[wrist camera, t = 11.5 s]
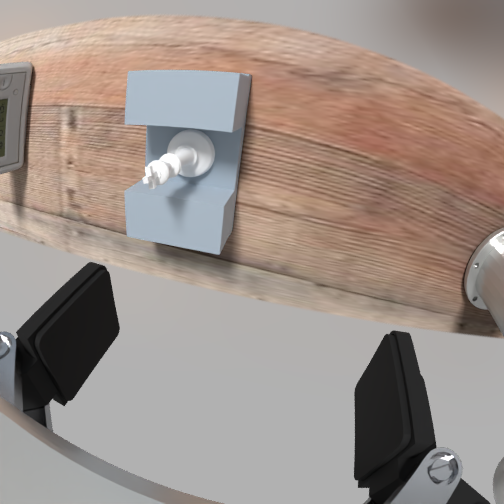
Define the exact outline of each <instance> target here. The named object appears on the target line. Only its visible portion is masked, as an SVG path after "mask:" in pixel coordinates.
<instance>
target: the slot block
mask: <svg viewBox="0 0 504 504" xmlns="http://www.w3.org/2000/svg"><path fill="white" fill-rule="evenodd" d="M251 78H252V75H250V74H243V73H232V72H218V71H199V70H143V71H128V80H127V92H126V108H125V124H130V125H147V131H146V161H145V167H147V166H148V165H149V164H150V163H151V162H152V161H155V160H159V159H160V158H161V157H162V156H163V155H164V154H167V149H168V145H169V143H170V141H171V140H172V138H173V137H174V136H175V135H177V134H178V133H179V132H181V131H184V130H187V129H195V130H199V131H201V132H203V133H204V134H206V135H207V136H208V137H209V138H210V140H211V141H212V143H213V145H214V149H215V158H214V162H213V164H212V166H211V167H210V169H209V170H208V171H207V172H205V173H204V174H202V175H199V176H196V177H185V176H182V175H180V174H178V175H177V176H176V177H173V178H169V179H168V181H167V182H166V183H165V184H163V185H157V187H156V188H155V189H149V186H148V183H146V184H144V183H143V179H142V180H141V181H139V182H138V183H136V184H134V185H133V186H131V187H130V188H128V189H127V190H125V213H126V229H127V237H132V238H137V239H142V240H147V241H152V242H157V243H162V244H167V245H172V246H177V247H182V248H187V249H192V250H197V251H202V252H208V253H213V254H218V255H220V253H221V251H222V249H223V247H224V245H225V243H226V241H227V239H228V237H229V236H230V234H231V232H232V229H233V220H234V211H235V203H236V194H237V186H238V178H239V169H240V161H241V153H242V145H243V138H244V130H245V122H246V115H247V107H248V100H249V93H250V85H251ZM145 176H146V172H145Z"/></svg>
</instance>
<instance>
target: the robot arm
mask: <svg viewBox="0 0 504 504" xmlns="http://www.w3.org/2000/svg"><path fill="white" fill-rule="evenodd" d="M464 288H465V293H466V295H467V297H468V299H469V300H470V302H471V303H472V304H473V305H474V306H475V307H477V308H479V309H485V310H486V309H488V310H489V312H490V314H491V315H492V317H493V319H494V320H495V322H496V324H497V325H498V327H499V329H500V331H501V333H502V334H503V336H504V228H501V229H499V230H497V231H495V232H493V233H492V234H490V235H489V236H488V237H487V238H486V239H485V240H483V242H482V243H481V244H480V245H479V246H478V247H477V249H476V251H475V252H474V254H473V255H472V257H471V259H470V261H469V263H468V266H467V269H466V272H465V278H464ZM119 329H120V327H119V323H118V318H117V312H116V307H115V302H114V297H113V291H112V285H111V280H110V274H109V272H108V271H107V269H106V267H105V266H103V265H99V264H96V263H93V262H89V263H88V264H87V265H86V266H84V267H83V268H82V269H81V270H80V271H79V272H78V273H76V274H75V275H74V276H73V277H72V278H71V279H70V280H69V281H68V282H67V283H66V284H65V285H63V286H62V287H61V288H60V289H59V290H58V291H57V292H56V293H55V294H54V295H53V296H52V297H51V298H50V299H49V300H48V301H46V302H45V303H44V304H43V305H42V306H41V308H39V309H38V310H37V311H36V312H35V313H34V314H33V315H32V316H31V317H30V318H29V320H27V321H26V322H25V323H24V324H23V326H22V327H21V328H20V329H19V330H18V331H17V332H16V333H17V335H18V338H17V339H16V340H15V338H14V336H13V335H12V334H11V333H8V332H0V504H223V503H218V502H215V501H211V500H207V499H203V498H200V497H196V496H193V495H190V494H186V493H183V492H180V491H177V490H174V489H171V488H168V487H165V486H163V485H160V484H157V483H154V482H152V481H149V480H147V479H144V478H142V477H139V476H137V475H134V474H132V473H129V472H127V471H125V470H123V469H121V468H118V467H116V466H114V465H112V464H110V463H108V462H106V461H104V460H102V459H100V458H97V457H96V456H94V455H91V454H90V453H88V452H86V451H84V450H82V449H80V448H79V447H77V446H75V445H73V444H72V443H70V442H68V441H67V440H64V439H63V438H62V437H60V436H58V435H57V434H55V433H53V429H52V422H51V414H50V406H49V402H50V401H51V399H52V398H53V399H54V400H55V401H57V402H58V403H60V404H62V405H63V406H65V405H66V403H67V401H71V400H72V399H73V398H74V397H75V395H76V394H77V392H78V391H79V389H80V388H81V387H82V385H83V384H84V382H85V380H86V379H87V378H88V376H89V375H90V374H91V372H92V371H93V369H94V368H95V366H96V365H97V364H98V362H99V361H100V359H101V358H102V357H103V355H104V354H105V352H106V351H107V350H108V348H109V347H110V345H111V344H112V343H113V341H114V340H115V338H116V337H117V336H118V333H119ZM461 476H462V463H461V460H460V458H459V456H458V455H457V454H456V453H455V452H454V451H453V450H451V449H449V448H444V447H440V448H436V441H435V435H434V429H433V423H432V417H431V411H430V406H429V401H428V396H427V391H426V387H425V382H424V379H423V377H422V376H421V374H420V370H419V366H418V362H417V358H416V354H415V350H414V346H413V343H412V339H411V336H410V334H409V333H406V332H400V331H392V332H391V333H390V334H386V335H385V336H384V338H383V340H382V341H381V343H380V345H379V347H378V349H377V351H376V352H375V354H374V356H373V358H372V359H371V361H370V363H369V365H368V366H367V368H366V370H365V371H364V373H363V375H362V377H361V378H360V380H359V381H358V383H357V385H356V388H355V462H354V478H355V480H358V488H369V498H368V500H367V501H366V502H365V503H364V504H490V503H489V501H487V500H486V499H485V498H484V497H482V496H481V495H480V494H479V493H478V492H477V491H476V490H474V489H473V488H472V487H471V486H469V485H468V484H467V483H466V482H465V481H464V480H462V479H461ZM493 493H494V498H495V501H496V504H504V457H503V459H502V460H501V461H500V462H499V464H498V466H497V468H496V470H495V474H494V478H493Z"/></svg>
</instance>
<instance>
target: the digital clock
mask: <svg viewBox="0 0 504 504" xmlns="http://www.w3.org/2000/svg"><path fill="white" fill-rule="evenodd" d="M31 75H32V63H30V62H17V63H6V64H0V174H3V173H6V172H10V171H13V170H17V169H19V168H21V167H22V165H23V162H24V144H25V141H26V125H27V113H28V104H29V96H30V88H31V86H30V81H31Z"/></svg>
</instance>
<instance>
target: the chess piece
mask: <svg viewBox="0 0 504 504" xmlns="http://www.w3.org/2000/svg"><path fill="white" fill-rule="evenodd" d="M214 158H215V149H214V145H213V143H212V141H211V140H210V138H209V137H208V136H207V135H206V134H204V133H203V132H201V131H199V130H195V129H187V130H184V131H181V132H179V133H178V134H177V135H175V136H174V137H173V138H172V140H171V141H170V143H169V145H168V149H167V154H164V155H163V156H162V157H161V158H160V159H159V160H155V161H152V162H151V163H150V164H149V165H148V166H147V167H145V172H146V176H145V177H143V178H142V179H143V183H144V184H146V183H148V186H149V189H155V188H156V187H157V185H163V184H165V183H166V182H167V181H168V179H169V178H173V177H176V176H177V175H178V174H180V175H182V176H185V177H196V176H199V175H202V174H204V173H205V172H207V171H208V170H209V169H210V167H211V166H212V164H213V162H214Z"/></svg>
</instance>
